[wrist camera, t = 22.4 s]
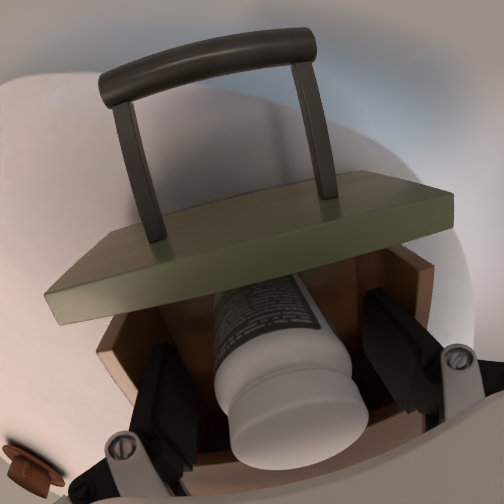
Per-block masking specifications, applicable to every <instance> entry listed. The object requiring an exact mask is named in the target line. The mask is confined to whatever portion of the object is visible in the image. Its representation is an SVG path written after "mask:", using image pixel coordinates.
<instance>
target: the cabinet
mask: <svg viewBox="0 0 504 504" xmlns="http://www.w3.org/2000/svg"><path fill="white" fill-rule="evenodd" d="M368 414H369V420H368V424H367V426H366V428H365V430H364V432H363V433H362V434H361V436H360V437H359V438H358V439H357V440H356V441H355V442H354V443H352V444H351V445H350V446H349V447H347V448H346V449H344V450H343V451H341V452H340V453H338V454H336V455H334V456H332V457H330V458H328V459H326V460H323V461H321V462H318V463H315V464H312V465H308V466H304V467H300V468H295V469H286V470H267V469H259V468H255V467H251V466H249V465H246V464H245V463H243V462H241V461H239V460H238V459H237V458H236V457H235V455H234V454H233V452H232V449H231V450H224V451H216V452H207V453H197V463H196V464H194V465H193V472H183V477H182V478H181V480H182V481H183V483H184V484H185V486H186V487H187V489H188V490H189V492H190V493H191V495H192V496H207V495H221V494H231V493H239V492H247V491H254V490H260V489H266V488H271V487H276V486H281V485H286V484H290V483H295V482H299V481H303V480H307V479H311V478H314V477H318V476H321V475H325V474H328V473H331V472H334V471H338V470H341V469H344V468H346V467H349V466H352V465H355V464H358V463H360V462H363V461H365V460H368V459H370V458H373V457H375V456H378V455H380V454H382V453H385V452H387V451H389V450H392V449H394V448H396V447H398V446H400V445H402V444H404V443H406V442H408V441H410V440H412V439H414V438H416V437H418V436H420V435H421V434H422V414H421V413H419V412H418V410H416V411H414V412H412V413H410V414H407V412H406V411H405V409H403V410H401V409H400V408H399V406H398V405H397V403H396V402H393V403H390V404H388V405H386V406H384V407H381V408H379V409H376V410H374V411H372V412H369V413H368Z"/></svg>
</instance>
